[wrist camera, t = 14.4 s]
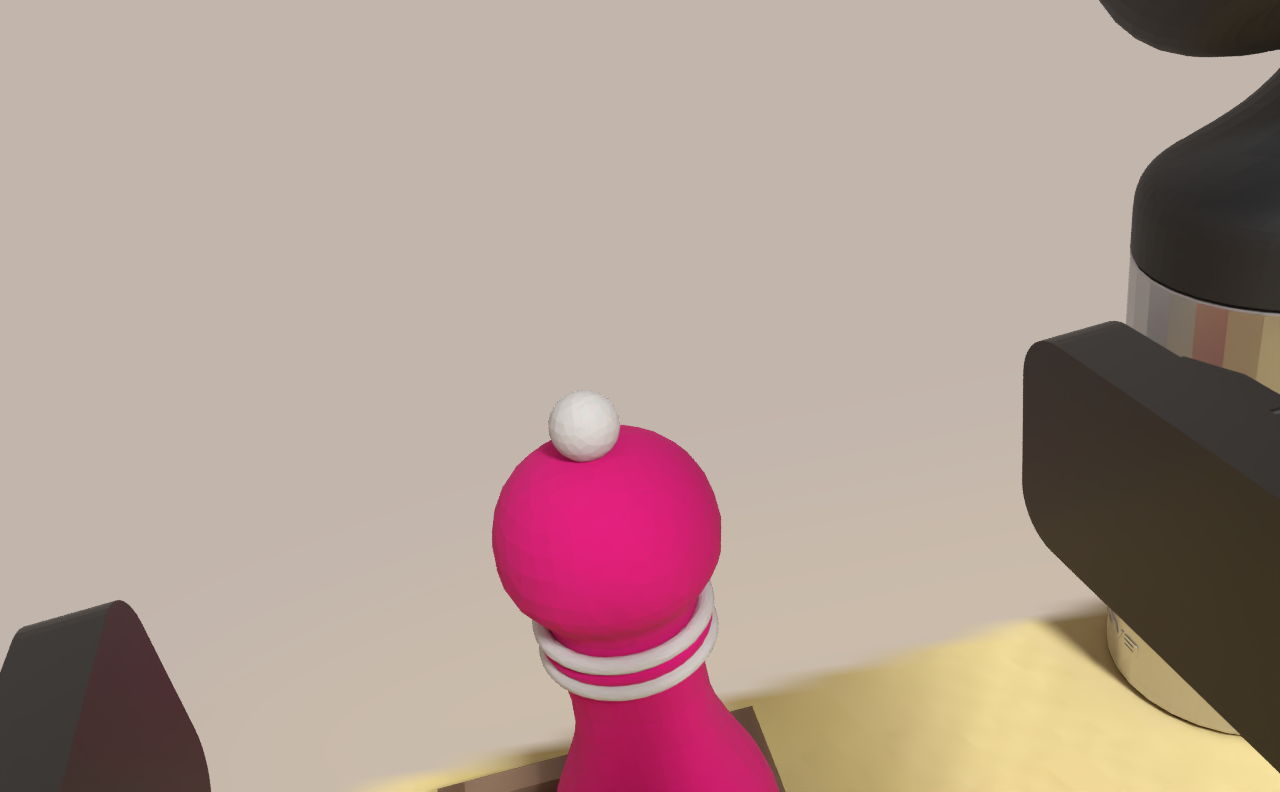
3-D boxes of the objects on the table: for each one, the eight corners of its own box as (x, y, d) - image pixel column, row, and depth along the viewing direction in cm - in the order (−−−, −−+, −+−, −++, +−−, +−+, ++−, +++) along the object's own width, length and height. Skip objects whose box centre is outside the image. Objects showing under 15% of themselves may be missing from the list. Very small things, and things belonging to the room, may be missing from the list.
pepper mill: (582, 836, 40) (449, 351, 30) (780, 809, 40) (710, 309, 30) (580, 1034, 34) (410, 502, 24) (815, 1004, 33) (741, 452, 23)
